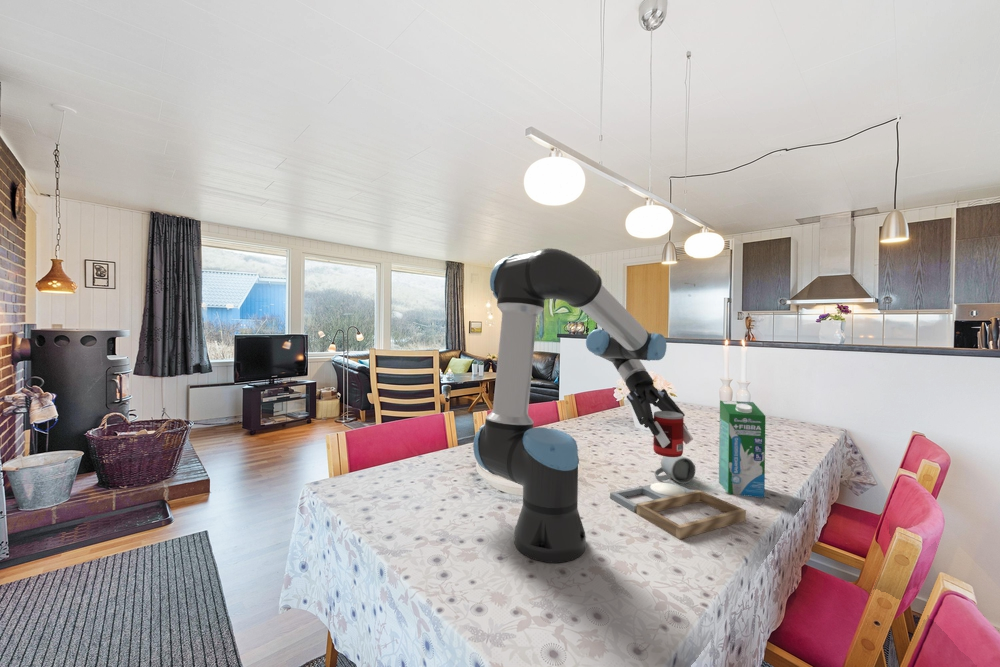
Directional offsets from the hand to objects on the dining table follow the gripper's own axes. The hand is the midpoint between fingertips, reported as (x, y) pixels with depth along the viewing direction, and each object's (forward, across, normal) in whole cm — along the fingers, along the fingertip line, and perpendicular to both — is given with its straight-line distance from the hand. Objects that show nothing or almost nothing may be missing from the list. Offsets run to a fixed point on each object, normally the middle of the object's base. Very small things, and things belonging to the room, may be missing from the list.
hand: (678, 443), depth 107 cm
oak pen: (+17, +5, -5) cm, 18 cm away
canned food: (0, 0, -5) cm, 5 cm away
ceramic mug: (+3, -11, -19) cm, 22 cm away
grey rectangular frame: (+9, +5, -13) cm, 17 cm away
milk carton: (+13, -23, -10) cm, 28 cm away
